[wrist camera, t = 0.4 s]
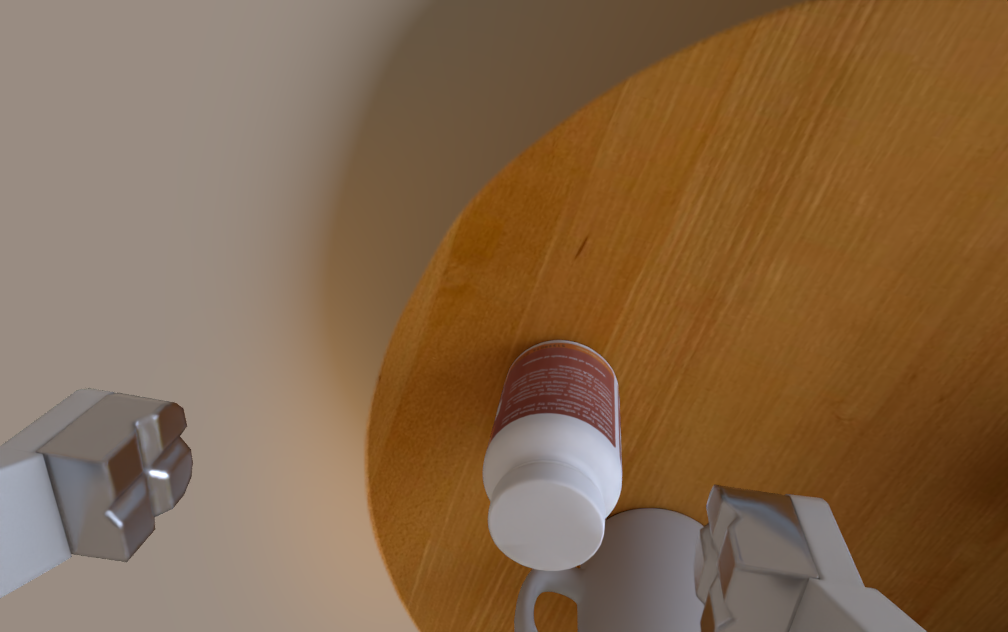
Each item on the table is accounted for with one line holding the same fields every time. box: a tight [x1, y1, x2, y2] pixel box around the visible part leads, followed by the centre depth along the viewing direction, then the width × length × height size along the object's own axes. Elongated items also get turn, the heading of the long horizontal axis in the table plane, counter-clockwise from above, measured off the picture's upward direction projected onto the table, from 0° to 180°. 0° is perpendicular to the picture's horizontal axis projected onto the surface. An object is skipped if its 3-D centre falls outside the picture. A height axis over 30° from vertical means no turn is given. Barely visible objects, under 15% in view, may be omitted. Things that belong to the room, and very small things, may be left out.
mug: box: [514, 508, 704, 632], centre depth 36 cm, size 12×8×11 cm
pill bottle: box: [483, 340, 622, 571], centre depth 32 cm, size 6×6×11 cm
